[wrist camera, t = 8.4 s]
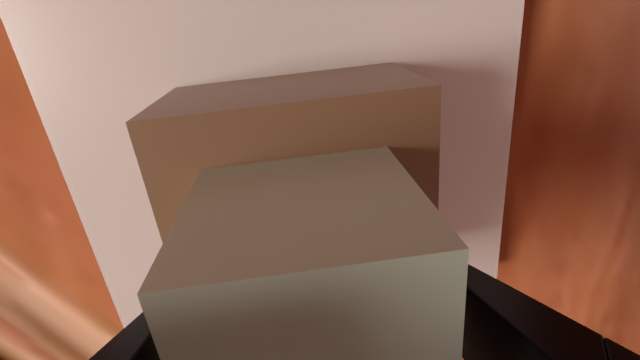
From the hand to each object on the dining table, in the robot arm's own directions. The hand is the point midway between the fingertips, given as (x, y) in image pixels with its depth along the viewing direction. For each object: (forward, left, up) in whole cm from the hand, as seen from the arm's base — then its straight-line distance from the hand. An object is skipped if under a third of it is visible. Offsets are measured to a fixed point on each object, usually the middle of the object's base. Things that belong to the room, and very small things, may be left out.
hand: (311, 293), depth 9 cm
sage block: (0, 0, -2) cm, 2 cm away
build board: (0, -2, -9) cm, 9 cm away
